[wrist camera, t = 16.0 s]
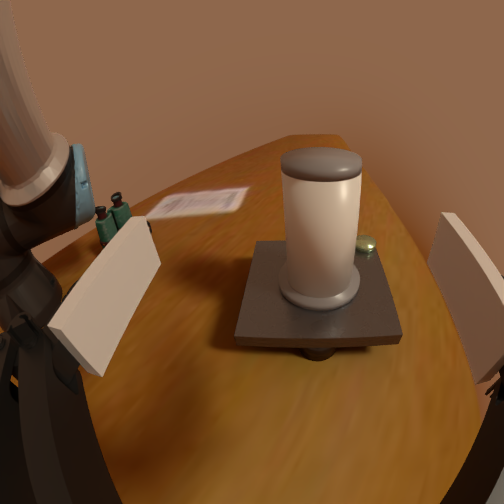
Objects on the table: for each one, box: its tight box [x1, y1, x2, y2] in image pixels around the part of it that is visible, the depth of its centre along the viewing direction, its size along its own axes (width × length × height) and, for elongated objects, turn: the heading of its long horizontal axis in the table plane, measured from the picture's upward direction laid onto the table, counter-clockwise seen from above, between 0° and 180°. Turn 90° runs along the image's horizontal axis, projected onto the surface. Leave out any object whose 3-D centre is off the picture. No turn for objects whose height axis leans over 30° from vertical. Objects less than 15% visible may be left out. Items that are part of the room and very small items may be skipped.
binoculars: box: [95, 192, 152, 249], centre depth 45 cm, size 9×11×10 cm
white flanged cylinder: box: [278, 147, 362, 311], centre depth 26 cm, size 9×9×14 cm
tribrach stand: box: [234, 235, 403, 361], centre depth 31 cm, size 16×16×5 cm
